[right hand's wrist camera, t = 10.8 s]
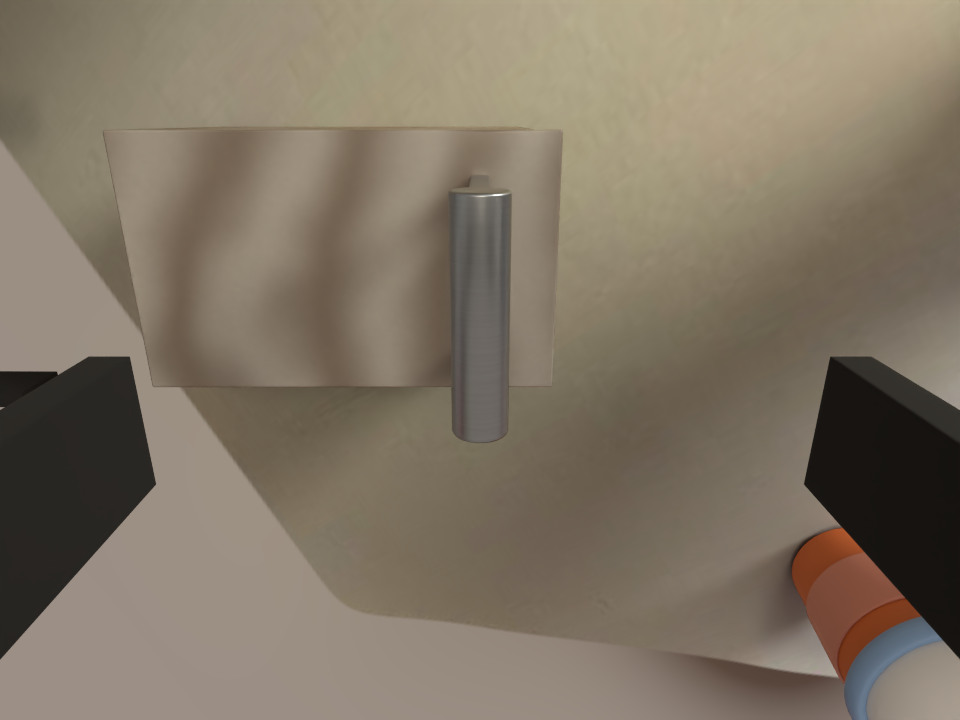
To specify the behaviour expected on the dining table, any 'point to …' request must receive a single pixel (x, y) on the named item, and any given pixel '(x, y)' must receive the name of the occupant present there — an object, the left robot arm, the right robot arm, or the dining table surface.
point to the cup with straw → (874, 635)
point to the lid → (345, 259)
